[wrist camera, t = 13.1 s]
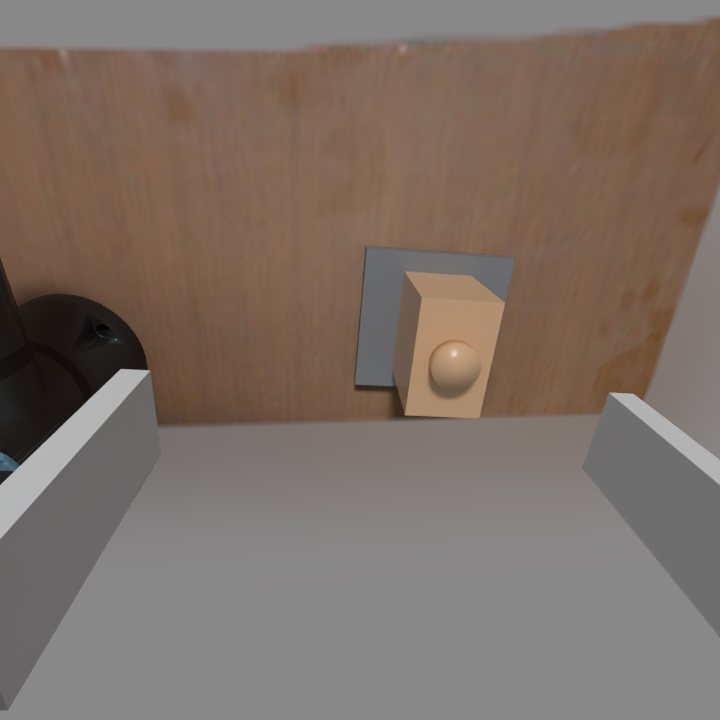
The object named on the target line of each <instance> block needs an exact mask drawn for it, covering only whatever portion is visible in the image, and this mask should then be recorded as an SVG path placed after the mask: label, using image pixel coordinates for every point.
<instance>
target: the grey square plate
mask: <svg viewBox="0 0 720 720" xmlns="http://www.w3.org/2000/svg"><path fill="white" fill-rule="evenodd" d="M514 262H515V259H513V258H512V257H508V256H495V255H482V254H468V253H455V252H441V251H428V250H415V249H401V248H388V247H374V246H366V250H365V261H364V273H363V285H362V296H361V308H360V320H359V331H358V343H357V355H356V366H355V378H354V380H355V385H375V386H396V387H397V385H396V382H395V378H394V375H393V371H392V370H393V362H394V354H395V346H396V338H397V330H398V321H399V313H400V305H401V297H402V289H403V281H404V273H405V271H406V272H420V273H435V274H449V275H464V276H473V277H474V278H475V279H476V280H477V281H479V282H480V283H481V284H482V285H484V286H485V287H486V288H487V289H489V290H490V291H491V292H492V293H493V294H495V295H496V296H497V297H498V298H500V299H501V300H502V301H503V302H506V297H507V293H508V288H509V284H510V279H511V275H512V271H513V266H514ZM500 324H501V323H500ZM498 333H499V332H498ZM491 364H492V363H491Z"/></svg>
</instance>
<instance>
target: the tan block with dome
mask: <svg viewBox="0 0 720 720" xmlns="http://www.w3.org/2000/svg"><path fill="white" fill-rule="evenodd" d="M504 306H505V302H503V301H502V300H501V299H500V298H498V297H497V296H496V295H495V294H493V293H492V292H491V291H490V290H489V289H487V288H486V287H485V286H484V285H482V284H481V283H480V282H479V281H477V280H476V279H475V278H474V277H473V276H464V275H449V274H435V273H420V272H406V271H405V273H404V281H403V289H402V297H401V305H400V313H399V321H398V330H397V338H396V346H395V354H394V362H393V370H392V371H393V375H394V378H395V382H396V385H397V389H398V392H399V396H400V399H401V403H402V406H403V410H404V414H405V415H410V416H434V417H458V418H479V417H480V412H481V408H482V403H483V399H484V395H485V390H486V386H487V381H488V377H489V372H490V368H491V363H492V359H493V355H494V350H495V346H496V341H497V337H498V332H499V328H500V323H501V319H502V315H503V310H504Z"/></svg>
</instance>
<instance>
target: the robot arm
mask: <svg viewBox="0 0 720 720" xmlns="http://www.w3.org/2000/svg"><path fill="white" fill-rule="evenodd" d="M160 455H161V451H160V444H159V436H158V428H157V420H156V412H155V404H154V396H153V388H152V381H151V373H150V370H146V361H145V356H144V352H143V349H142V347H141V344H140V342H139V340H138V339H137V337H136V335H135V334H134V332H133V331H132V330H131V328H130V327H129V326H128V325H127V324H126V323H125V322H124V321H123V320H122V319H121V318H120V317H119V316H118V315H116V314H115V313H114V312H112V311H111V310H109V309H108V308H106V307H104V306H102V305H101V304H99V303H96V302H94V301H92V300H89V299H86V298H83V297H78V296H73V295H65V294H55V295H47V296H42V297H39V298H36V299H34V300H31V301H29V302H27V303H25V304H23V305H21V306H19V307H17V305H16V302H15V299H14V296H13V293H12V290H11V287H10V284H9V281H8V279H7V276H6V273H5V270H4V267H3V264H2V261H1V258H0V710H8V709H9V707H10V706H11V704H12V703H13V701H14V699H15V698H16V696H17V694H18V693H19V691H20V689H21V688H22V686H23V684H24V683H25V681H26V679H27V678H28V676H29V674H30V673H31V671H32V669H33V668H34V666H35V664H36V663H37V661H38V659H39V658H40V656H41V654H42V652H43V651H44V649H45V647H46V646H47V644H48V642H49V641H50V639H51V637H52V636H53V634H54V632H55V631H56V629H57V627H58V626H59V624H60V622H61V621H62V619H63V617H64V616H65V614H66V612H67V611H68V609H69V607H70V605H71V604H72V602H73V600H74V599H75V597H76V595H77V594H78V592H79V590H80V589H81V587H82V585H83V584H84V582H85V580H86V579H87V577H88V575H89V573H90V572H91V570H92V569H93V567H94V565H95V564H96V562H97V560H98V558H99V557H100V555H101V554H102V552H103V550H104V548H105V547H106V545H107V544H108V542H109V540H110V538H111V537H112V535H113V533H114V532H115V530H116V528H117V527H118V525H119V523H120V522H121V520H122V518H123V516H124V515H125V513H126V512H127V510H128V508H129V507H130V505H131V503H132V502H133V500H134V498H135V497H136V495H137V493H138V491H139V490H140V488H141V486H142V485H143V483H144V481H145V480H146V478H147V476H148V475H149V473H150V471H151V470H152V468H153V466H154V465H155V463H156V461H157V460H158V458H159V456H160ZM582 468H583V470H584V471H585V472H586V473H587V475H588V476H589V477H590V478H591V479H592V481H593V482H594V483H595V484H596V486H597V487H598V488H599V489H600V491H601V492H602V493H603V494H604V496H605V497H606V498H607V499H608V500H609V502H610V503H611V504H612V505H613V507H614V508H615V509H616V510H617V511H618V513H619V514H620V515H621V516H622V518H623V519H624V520H625V521H626V523H627V524H628V525H629V526H630V527H631V529H632V530H633V531H634V532H635V533H636V535H637V536H638V537H639V538H640V540H641V541H642V542H643V543H644V545H645V546H646V547H647V548H648V549H649V550H650V552H651V553H652V554H653V555H654V557H655V558H656V559H657V560H658V562H659V563H660V564H661V565H662V567H663V568H664V569H665V570H666V572H667V573H668V574H669V575H670V576H671V578H672V579H673V580H674V581H675V583H676V584H677V585H678V586H679V587H680V589H681V590H682V591H683V592H684V594H685V595H686V596H687V597H688V599H689V600H690V601H691V602H692V603H693V605H694V606H695V607H696V608H697V609H698V611H699V612H700V613H701V614H702V616H703V617H704V618H705V619H706V621H707V622H708V623H709V624H710V625H711V627H712V628H713V629H714V630H715V632H716V633H717V634H718V635H719V636H720V460H719V459H717V458H716V457H715V456H714V455H712V454H711V453H710V452H708V451H707V450H706V449H704V448H703V447H702V446H701V445H699V444H698V443H697V442H695V441H694V440H693V439H691V438H690V437H689V436H688V435H686V434H685V433H684V432H682V431H681V430H680V429H678V428H677V427H676V426H675V425H673V424H672V423H671V422H669V421H668V420H667V419H665V418H664V417H663V416H661V415H660V414H659V413H658V412H656V411H655V410H654V409H652V408H651V407H650V406H648V405H647V404H646V403H645V402H643V401H642V400H641V399H639V398H638V397H637V396H635V395H634V394H623V393H609V395H608V397H607V400H606V403H605V406H604V409H603V411H602V414H601V417H600V420H599V423H598V425H597V428H596V431H595V434H594V437H593V440H592V442H591V445H590V448H589V451H588V453H587V456H586V459H585V462H584V464H583V467H582Z"/></svg>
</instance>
